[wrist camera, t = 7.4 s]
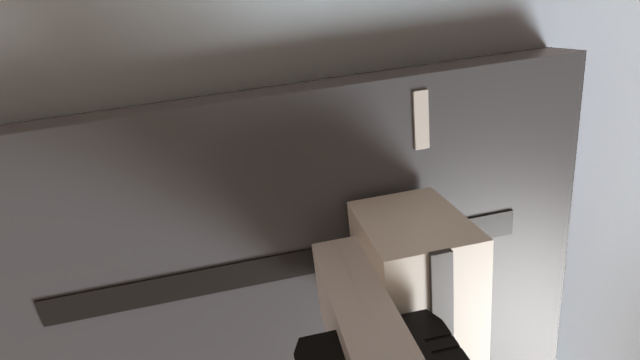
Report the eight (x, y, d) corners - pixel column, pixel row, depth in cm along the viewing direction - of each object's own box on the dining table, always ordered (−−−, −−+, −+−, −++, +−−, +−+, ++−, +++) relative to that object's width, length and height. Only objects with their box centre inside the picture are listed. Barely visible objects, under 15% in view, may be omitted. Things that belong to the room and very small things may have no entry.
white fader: (346, 201, 15) (385, 265, 11) (430, 186, 15) (496, 243, 11) (357, 309, 16) (394, 397, 13) (433, 293, 17) (492, 374, 13)
